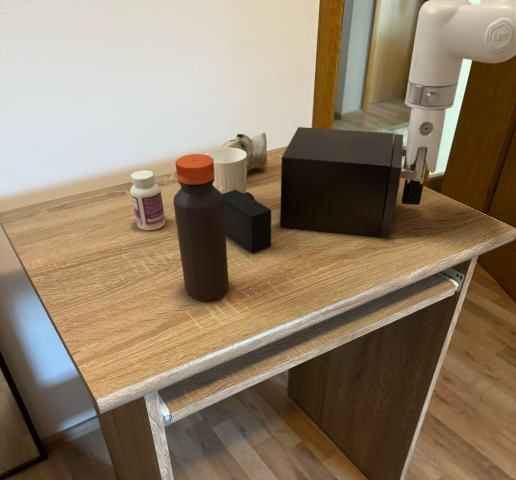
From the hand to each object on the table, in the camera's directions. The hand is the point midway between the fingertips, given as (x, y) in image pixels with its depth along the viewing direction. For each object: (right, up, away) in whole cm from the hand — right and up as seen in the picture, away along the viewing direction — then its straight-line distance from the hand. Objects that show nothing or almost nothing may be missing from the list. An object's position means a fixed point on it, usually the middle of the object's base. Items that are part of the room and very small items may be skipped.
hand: (410, 202), depth 90 cm
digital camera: (-30, -7, -2) cm, 31 cm away
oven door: (-2, -2, +3) cm, 4 cm away
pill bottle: (-48, -4, +2) cm, 48 cm away
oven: (-13, -1, +5) cm, 14 cm away
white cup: (-34, +2, +8) cm, 35 cm away
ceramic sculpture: (-32, +12, +20) cm, 40 cm away
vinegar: (-36, -18, -14) cm, 42 cm away
